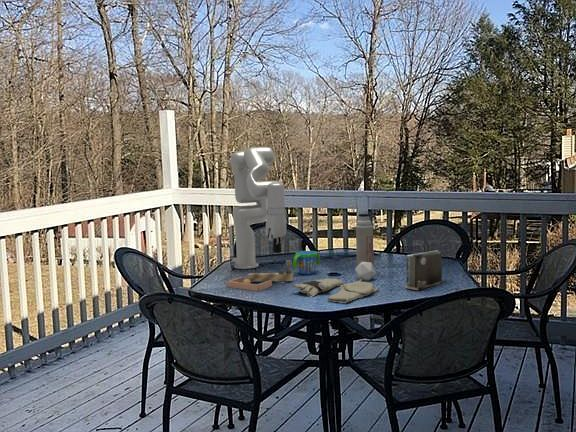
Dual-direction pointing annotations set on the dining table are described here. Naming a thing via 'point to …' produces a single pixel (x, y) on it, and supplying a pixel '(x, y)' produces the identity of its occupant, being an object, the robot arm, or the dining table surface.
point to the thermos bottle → (364, 240)
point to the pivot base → (281, 281)
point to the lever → (274, 274)
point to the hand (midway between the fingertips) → (277, 252)
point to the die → (365, 271)
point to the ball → (247, 281)
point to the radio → (424, 270)
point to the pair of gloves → (345, 291)
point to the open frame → (240, 285)
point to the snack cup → (306, 261)
